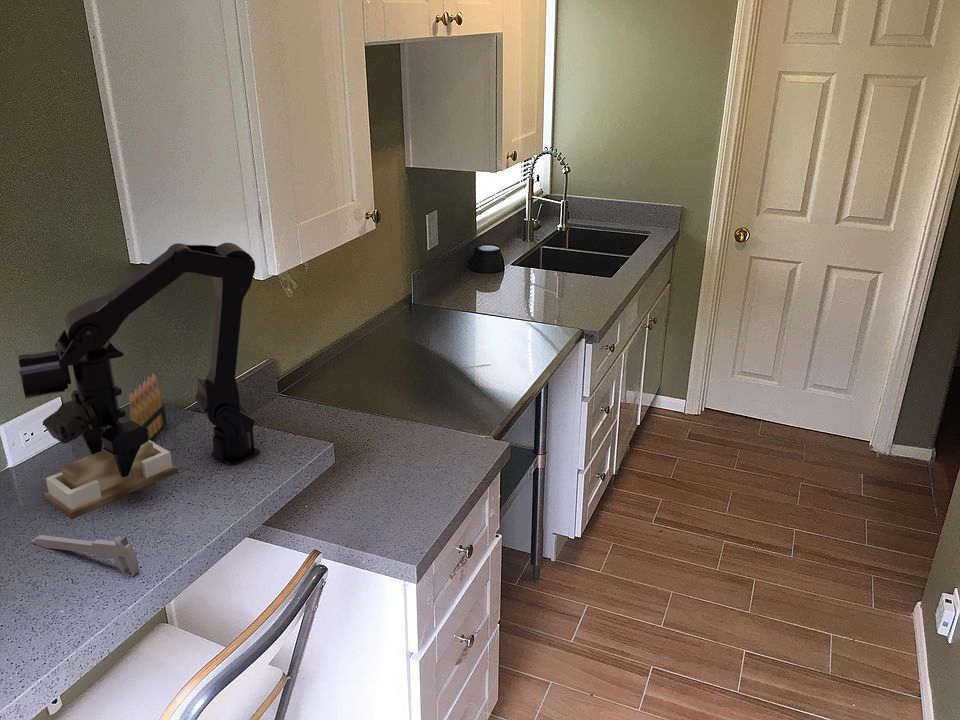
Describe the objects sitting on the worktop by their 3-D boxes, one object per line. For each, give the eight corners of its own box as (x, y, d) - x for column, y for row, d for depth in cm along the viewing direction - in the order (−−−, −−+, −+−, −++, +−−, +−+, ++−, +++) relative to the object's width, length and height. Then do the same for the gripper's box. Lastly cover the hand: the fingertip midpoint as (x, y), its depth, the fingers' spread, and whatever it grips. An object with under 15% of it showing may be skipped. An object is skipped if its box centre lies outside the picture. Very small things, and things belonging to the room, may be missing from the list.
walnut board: (150, 455, 145) (149, 450, 144) (177, 471, 140) (177, 467, 139) (44, 498, 131) (43, 493, 130) (71, 518, 126) (70, 513, 125)
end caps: (148, 453, 144) (146, 438, 142) (172, 466, 139) (170, 452, 138) (48, 493, 130) (45, 478, 129) (71, 510, 126) (68, 494, 125)
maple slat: (143, 460, 141) (139, 435, 139) (156, 467, 139) (152, 443, 137) (66, 492, 131) (60, 466, 129) (78, 501, 128) (73, 475, 127)
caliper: (140, 574, 114) (134, 538, 112) (134, 578, 113) (128, 542, 111) (35, 540, 121) (27, 506, 118) (29, 544, 120) (21, 509, 117)
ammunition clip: (142, 453, 145) (133, 395, 141) (133, 452, 145) (123, 394, 141) (168, 426, 155) (160, 371, 151) (158, 426, 155) (150, 370, 151)
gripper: (18, 384, 127) (36, 467, 133) (75, 418, 117) (92, 507, 123) (85, 363, 135) (100, 443, 141) (144, 394, 125) (157, 478, 131)
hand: (110, 467), depth 134 cm, fingers open, 9 cm apart
